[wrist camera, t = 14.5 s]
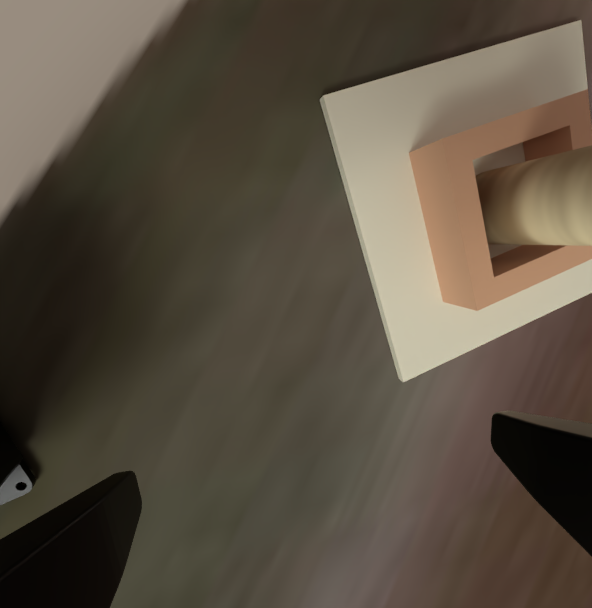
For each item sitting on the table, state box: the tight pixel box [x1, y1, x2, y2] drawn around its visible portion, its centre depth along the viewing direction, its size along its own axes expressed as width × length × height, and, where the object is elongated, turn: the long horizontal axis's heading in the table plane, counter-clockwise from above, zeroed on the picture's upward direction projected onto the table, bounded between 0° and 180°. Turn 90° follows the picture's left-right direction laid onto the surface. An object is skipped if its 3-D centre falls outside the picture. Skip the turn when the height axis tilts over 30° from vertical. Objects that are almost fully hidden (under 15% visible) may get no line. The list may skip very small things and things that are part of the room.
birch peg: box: [475, 145, 592, 246], centre depth 18 cm, size 5×5×9 cm
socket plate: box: [320, 20, 592, 382], centre depth 21 cm, size 18×18×4 cm
